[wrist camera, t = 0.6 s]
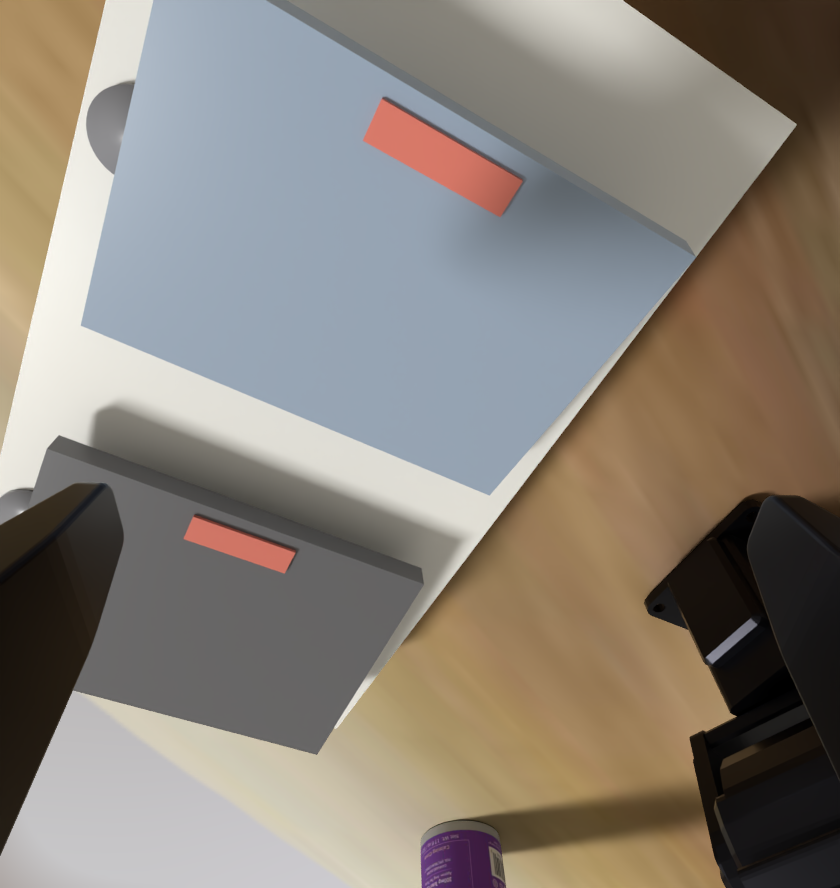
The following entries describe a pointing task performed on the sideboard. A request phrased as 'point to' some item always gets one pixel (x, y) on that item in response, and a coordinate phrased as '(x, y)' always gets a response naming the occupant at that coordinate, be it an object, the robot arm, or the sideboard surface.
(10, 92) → the sideboard surface
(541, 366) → the plate
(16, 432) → the white long base
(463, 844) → the container
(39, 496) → the rocker charcoal
